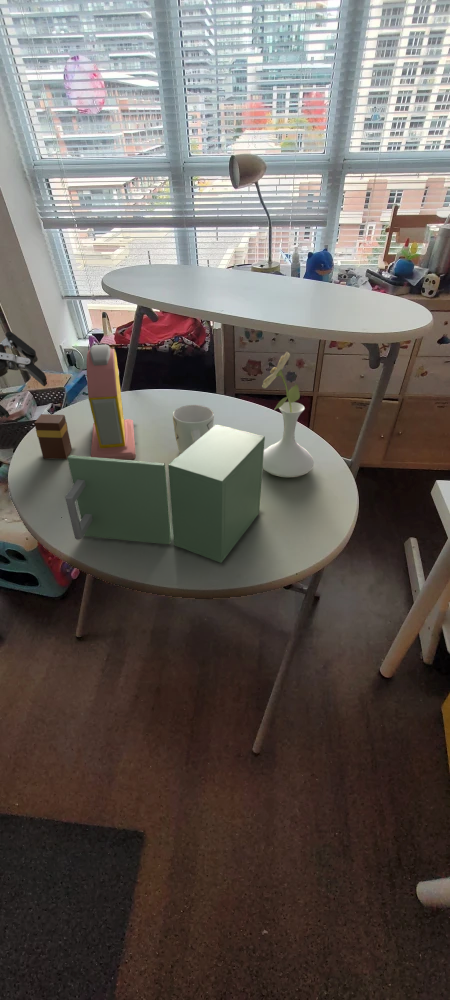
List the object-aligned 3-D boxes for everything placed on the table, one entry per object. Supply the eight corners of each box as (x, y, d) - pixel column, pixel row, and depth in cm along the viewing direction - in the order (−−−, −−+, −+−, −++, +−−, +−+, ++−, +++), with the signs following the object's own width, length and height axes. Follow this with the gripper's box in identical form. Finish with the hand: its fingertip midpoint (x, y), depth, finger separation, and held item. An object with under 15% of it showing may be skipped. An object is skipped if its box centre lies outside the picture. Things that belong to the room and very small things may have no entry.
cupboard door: (162, 566, 72) (154, 485, 62) (72, 556, 73) (52, 476, 64) (171, 541, 76) (164, 462, 67) (86, 533, 78) (69, 454, 69)
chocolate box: (43, 458, 97) (33, 422, 92) (49, 449, 101) (40, 413, 96) (66, 459, 97) (58, 423, 92) (72, 449, 101) (64, 414, 96)
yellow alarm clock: (94, 422, 111) (79, 332, 98) (133, 419, 113) (122, 330, 100) (91, 470, 94) (71, 368, 81) (136, 466, 95) (124, 366, 83)
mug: (218, 471, 94) (218, 428, 88) (177, 474, 93) (175, 431, 87) (211, 444, 103) (210, 403, 97) (173, 447, 102) (171, 405, 96)
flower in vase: (282, 448, 102) (293, 335, 88) (323, 468, 96) (343, 349, 81) (241, 469, 95) (245, 349, 80) (282, 492, 88) (295, 366, 74)
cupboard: (173, 545, 76) (167, 464, 67) (216, 499, 87) (216, 424, 77) (221, 563, 73) (222, 481, 63) (259, 513, 83) (265, 436, 74)
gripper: (-90, 349, 72) (-11, 417, 72) (-19, 297, 76) (54, 362, 77) (-72, 372, 79) (0, 434, 79) (-8, 323, 83) (59, 382, 84)
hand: (26, 398), depth 78 cm, fingers open, 8 cm apart
